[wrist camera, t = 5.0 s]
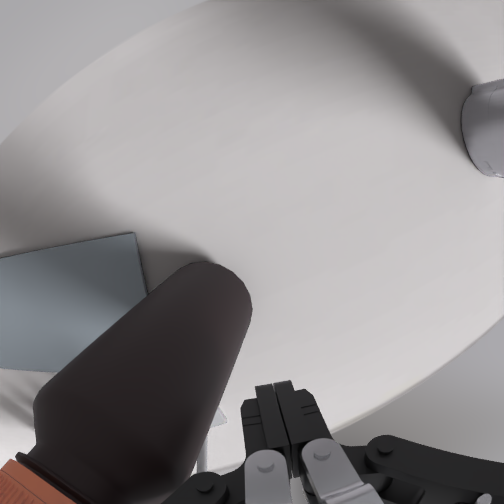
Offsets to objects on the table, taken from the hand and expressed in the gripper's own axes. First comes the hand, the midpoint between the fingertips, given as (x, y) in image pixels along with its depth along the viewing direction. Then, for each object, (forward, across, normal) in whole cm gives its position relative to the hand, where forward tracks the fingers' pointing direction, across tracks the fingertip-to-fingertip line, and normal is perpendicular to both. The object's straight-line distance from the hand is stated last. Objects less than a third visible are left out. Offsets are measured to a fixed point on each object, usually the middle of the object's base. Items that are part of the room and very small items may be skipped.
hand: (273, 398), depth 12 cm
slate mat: (+12, +19, 0) cm, 23 cm away
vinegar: (+12, +3, 0) cm, 12 cm away
